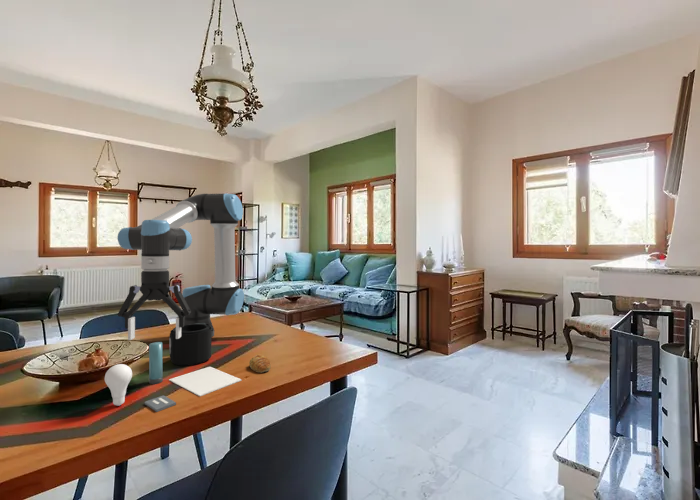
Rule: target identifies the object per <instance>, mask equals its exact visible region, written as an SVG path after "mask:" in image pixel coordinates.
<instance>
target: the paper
mask: <svg viewBox="0 0 700 500" xmlns="http://www.w3.org/2000/svg"><path fill="white" fill-rule="evenodd" d="M242 380H243V379H241V378H239V377H237V376H234V375H232V374H229V373H226V372H225V371H222V370H219V369H217V368H214V367H212V366H207V367H205V368H204V367H203V368H201V369H197V370H195V371H191V372H189V373H185V374H182V375H179V376H176V377H172V378H170V379H168V382H172V383H173V384H175V385H177V386H179V387H181V388H183V389H185V390H186V391H189V392H191V393H192V394H194V395H196V396H198V397H202V396H205V395H208V394H210V393H212V392H215V391H218V390H220V389H223V388H226V387H229V386H231V385H234V384H236V383H238V382H241V381H242Z"/></svg>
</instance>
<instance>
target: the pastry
mask: <svg viewBox="0 0 700 500" xmlns="http://www.w3.org/2000/svg"><path fill="white" fill-rule="evenodd" d="M271 366H272V364H271V361H270V359H269V357H267V356H264V355H262V354H256V355H255V356H252V358H251V359H250V360H249V367H250V369H251V370H252V371H254V372H255V373H256V372H257V373H265V372H269V371H270V370H271V368H272V367H271Z"/></svg>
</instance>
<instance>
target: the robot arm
mask: <svg viewBox="0 0 700 500" xmlns="http://www.w3.org/2000/svg"><path fill="white" fill-rule="evenodd" d="M243 216H244V207H243V205H242V201H241V199H240V198H239V196H238V195H236V194H234V193H227V192H226V193H199V194H196V195H193V196H190V197H187V198H184V199H183V200H181V201H179V202H178V203H177V204H176V205H175V207H173V208H171V209H169V210H166V211H165V212H163V213H161V214H160V215H157V216H155V217H153V218H152V219H145V220H142V222H141V224H139V225H138V226H135V227H132V226H129V227H123V228H121V229H120V230H119V231H118V233H117V242H118V244H119V246H120V247H121V248H122V249H124V250H132V251H138V250H139V251H141V254H140V255H141V260H140V262H141V264H140V269H142V271H141V273H140V275H141V276H140V283H141V285H140V286H138V285H137V284H134V285H131V286H130V287H129V290H128V295H127V296H126V298H125V300H124V302H123V304H122V305H121V307H120V308H119V310H118V313H117V316H118V317H121V318H124V328H125V329H127V341H132V340H133V339H135V338H136V317H135V316H134V315H135V313H136V312H137V311H138V310H139V309H140V308H141V306H143V305H144V303H146V302H147V301H163V302H165V304H166V305H168V307H169V308H170V309H171V310H172V311H173V312H174V313H175V315H177V317H175V327H176V339H179V338H180V337H181V327H184V325H187V324H195V323H205V324H209V327H211V338H213V337H214V336H215V328H214V326H213V322H212V320H211V315H220V316H221V315H224V316H230V315H231V316H232V315H237V314H238V313H240V311H241V309H242V307H243V304H244V301H245V292H244V290H243V289H241V288H240V284H239V283H238V282H237V281H236V245H235V244H236V243H235V242H236V237H235V236H236V235H235V230H236V229H235V228H236V227H237V226H239V221H241V220H242V218H243ZM195 221H209V224H210V226H211V227H212V228H213V234H214V235H213V236H214V237H213V238H214V242H213V243H214V244H213V245H214V283H212V285H210V284H200V285H194V286H188V287H185V288H184V289H183V290H182V291H181V285H180V284H177V285H176V284H175V285H172V286H171V285H170V271H169V269H170V251H184V250H187V249H189V248H190V246H191V244H192V243H193V237H192V235H191V233H190V231H188V230H187V229H184V228H182V226H184V225H186V224H187V223H188V224H190V223H193V222H195ZM139 291H140V292H141V294H142V295H141V296H140V297H139V298H138V300H137V301H136V302H135V304H134V305H132V303H133V301H134V299H135V298H136V296H137V293H139ZM170 291H171V292H172V293H173V294H174V298H175V299H176V300H177V302H178V304H179V305H178V304H177V302H176V301H175V300H173V298H172V296H171V295H170V294H169V293H170ZM131 305H132V306H131ZM130 306H131V308H130Z"/></svg>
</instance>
